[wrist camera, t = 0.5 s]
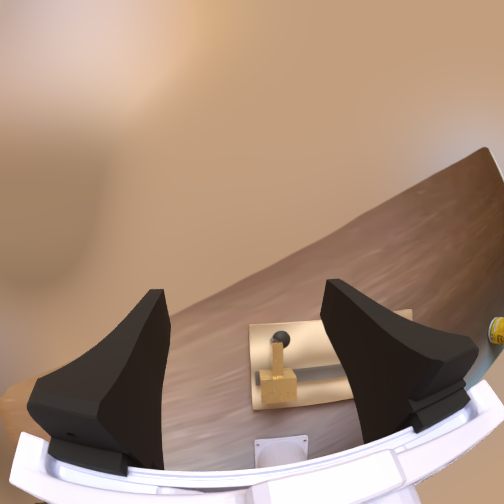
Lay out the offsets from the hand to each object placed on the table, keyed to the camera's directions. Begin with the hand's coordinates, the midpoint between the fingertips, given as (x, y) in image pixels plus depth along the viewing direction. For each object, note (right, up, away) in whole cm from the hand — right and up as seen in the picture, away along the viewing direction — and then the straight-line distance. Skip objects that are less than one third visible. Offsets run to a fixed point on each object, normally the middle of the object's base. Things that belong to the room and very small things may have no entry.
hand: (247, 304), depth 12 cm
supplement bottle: (+49, -14, +24) cm, 56 cm away
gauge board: (+12, -13, +23) cm, 29 cm away
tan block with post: (+3, -12, +21) cm, 24 cm away
